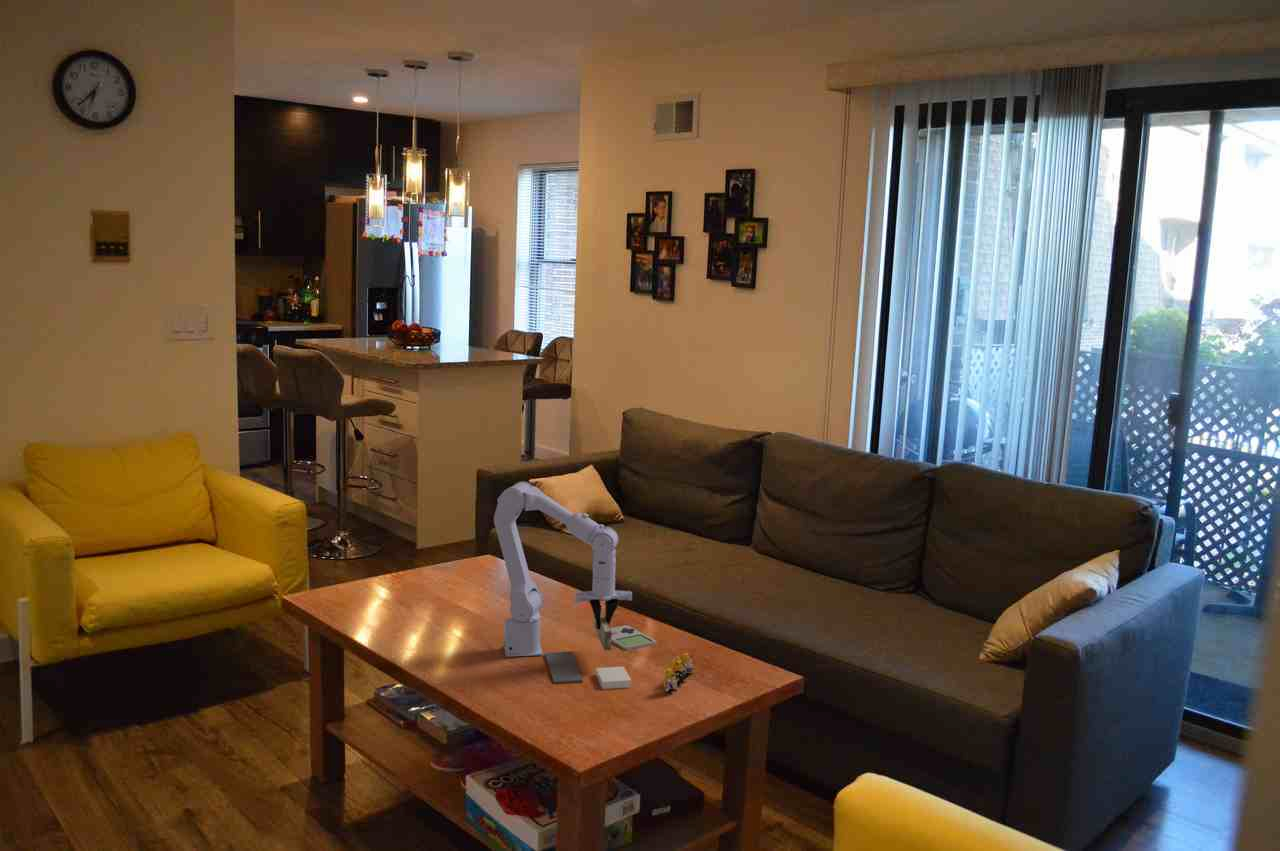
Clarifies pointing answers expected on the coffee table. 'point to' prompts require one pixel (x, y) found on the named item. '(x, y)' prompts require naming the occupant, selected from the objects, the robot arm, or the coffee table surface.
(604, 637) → the beige bar
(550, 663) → the rubber mat
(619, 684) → the tile
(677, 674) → the figurine set
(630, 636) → the handheld gaming console
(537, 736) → the coffee table surface
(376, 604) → the coffee table surface
